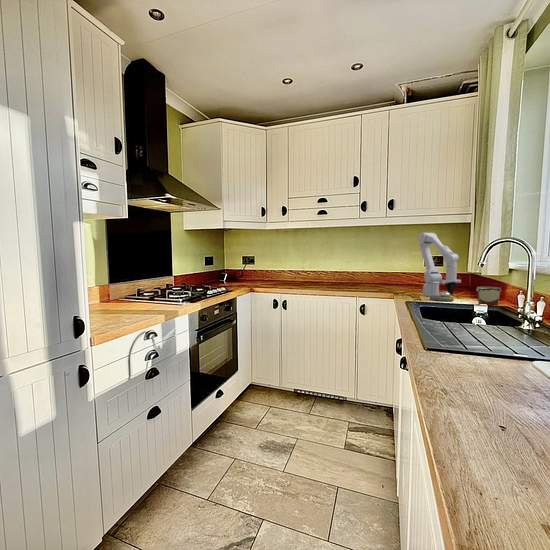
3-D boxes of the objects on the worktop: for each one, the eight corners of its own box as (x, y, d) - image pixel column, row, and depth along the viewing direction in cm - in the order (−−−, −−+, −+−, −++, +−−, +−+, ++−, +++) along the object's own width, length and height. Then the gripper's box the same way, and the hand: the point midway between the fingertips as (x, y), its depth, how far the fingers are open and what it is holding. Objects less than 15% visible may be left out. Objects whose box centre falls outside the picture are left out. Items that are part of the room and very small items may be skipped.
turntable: (424, 298, 192) (425, 296, 192) (440, 297, 196) (440, 294, 196) (442, 301, 179) (442, 298, 179) (458, 300, 184) (458, 297, 184)
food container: (493, 303, 171) (494, 286, 171) (500, 305, 165) (501, 287, 165) (471, 303, 173) (471, 286, 172) (477, 305, 167) (477, 287, 166)
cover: (438, 296, 190) (438, 291, 190) (444, 295, 192) (445, 290, 192) (445, 297, 185) (445, 292, 185) (452, 296, 187) (452, 291, 187)
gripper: (448, 273, 183) (447, 295, 184) (465, 273, 188) (464, 294, 189) (438, 273, 190) (437, 294, 190) (455, 272, 194) (454, 293, 195)
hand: (450, 294), depth 190 cm, fingers closed
